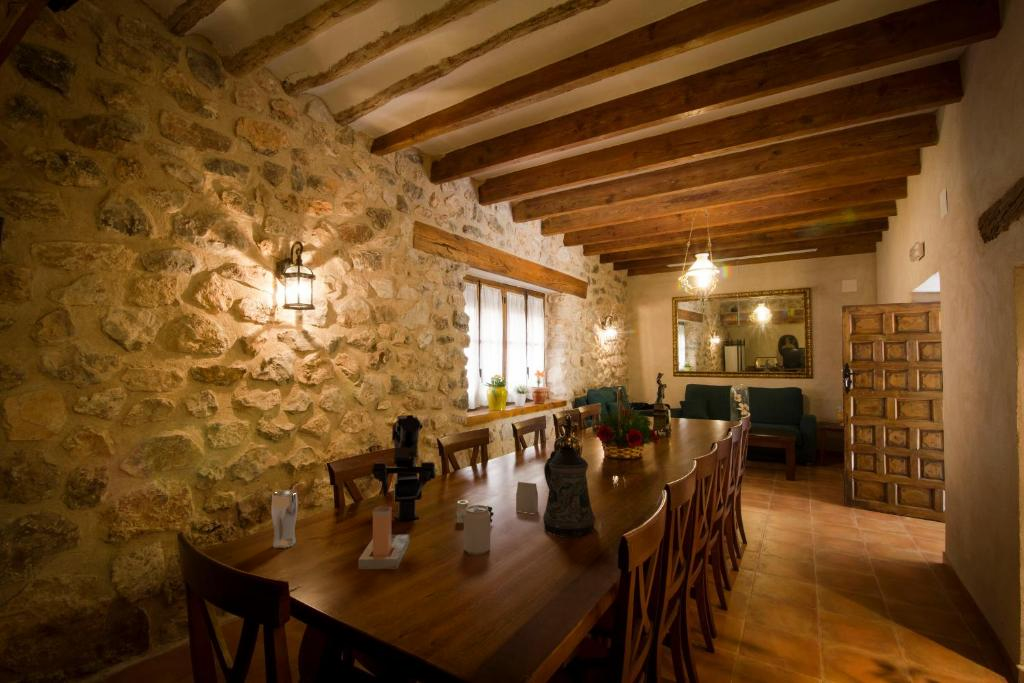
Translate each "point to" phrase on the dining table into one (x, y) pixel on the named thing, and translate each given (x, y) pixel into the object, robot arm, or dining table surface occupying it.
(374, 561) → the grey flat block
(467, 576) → the dining table surface
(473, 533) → the can
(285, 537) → the beer glass
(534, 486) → the tea bag
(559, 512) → the beer stein
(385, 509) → the square peg
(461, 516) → the valve
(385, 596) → the dining table surface
